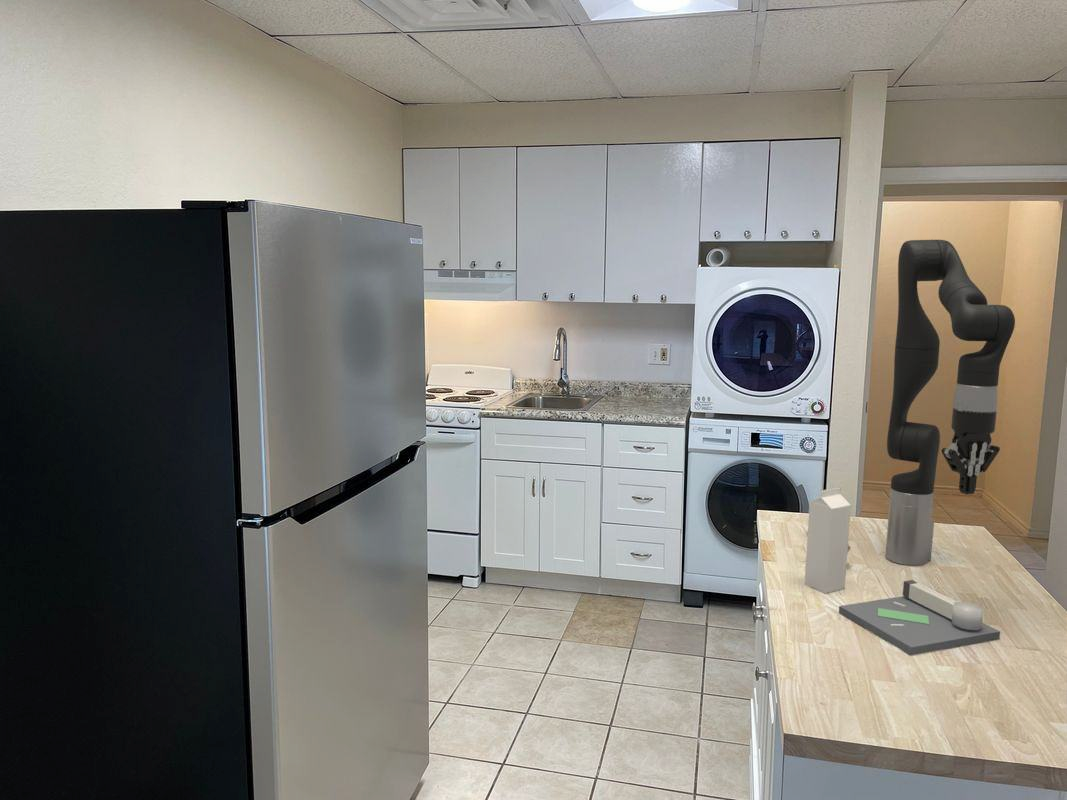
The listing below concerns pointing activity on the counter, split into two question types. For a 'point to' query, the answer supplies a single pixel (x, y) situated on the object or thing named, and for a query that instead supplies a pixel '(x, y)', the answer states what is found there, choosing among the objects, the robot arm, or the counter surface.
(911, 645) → the board
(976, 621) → the tuning lever
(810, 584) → the milk
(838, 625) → the counter surface
